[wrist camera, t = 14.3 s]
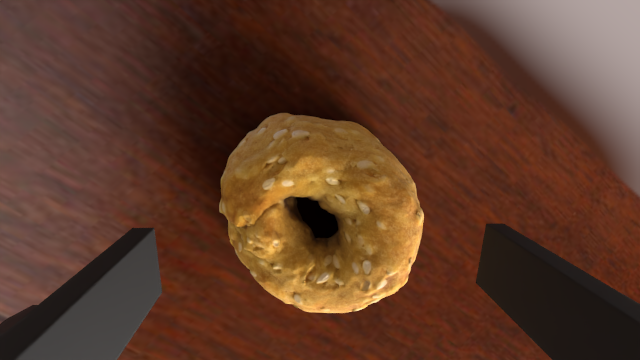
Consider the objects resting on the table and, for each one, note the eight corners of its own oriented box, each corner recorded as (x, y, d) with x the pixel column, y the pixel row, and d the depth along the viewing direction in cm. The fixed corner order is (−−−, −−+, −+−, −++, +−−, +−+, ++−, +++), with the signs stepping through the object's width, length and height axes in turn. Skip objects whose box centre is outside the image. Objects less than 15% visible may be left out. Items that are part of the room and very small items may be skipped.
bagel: (342, 69, 16) (363, 58, 11) (431, 231, 19) (475, 274, 14) (185, 168, 17) (145, 197, 12) (295, 310, 20) (295, 376, 15)
